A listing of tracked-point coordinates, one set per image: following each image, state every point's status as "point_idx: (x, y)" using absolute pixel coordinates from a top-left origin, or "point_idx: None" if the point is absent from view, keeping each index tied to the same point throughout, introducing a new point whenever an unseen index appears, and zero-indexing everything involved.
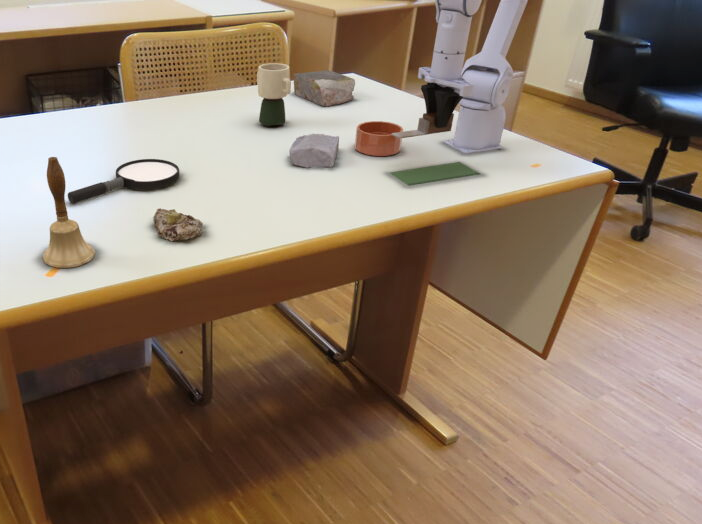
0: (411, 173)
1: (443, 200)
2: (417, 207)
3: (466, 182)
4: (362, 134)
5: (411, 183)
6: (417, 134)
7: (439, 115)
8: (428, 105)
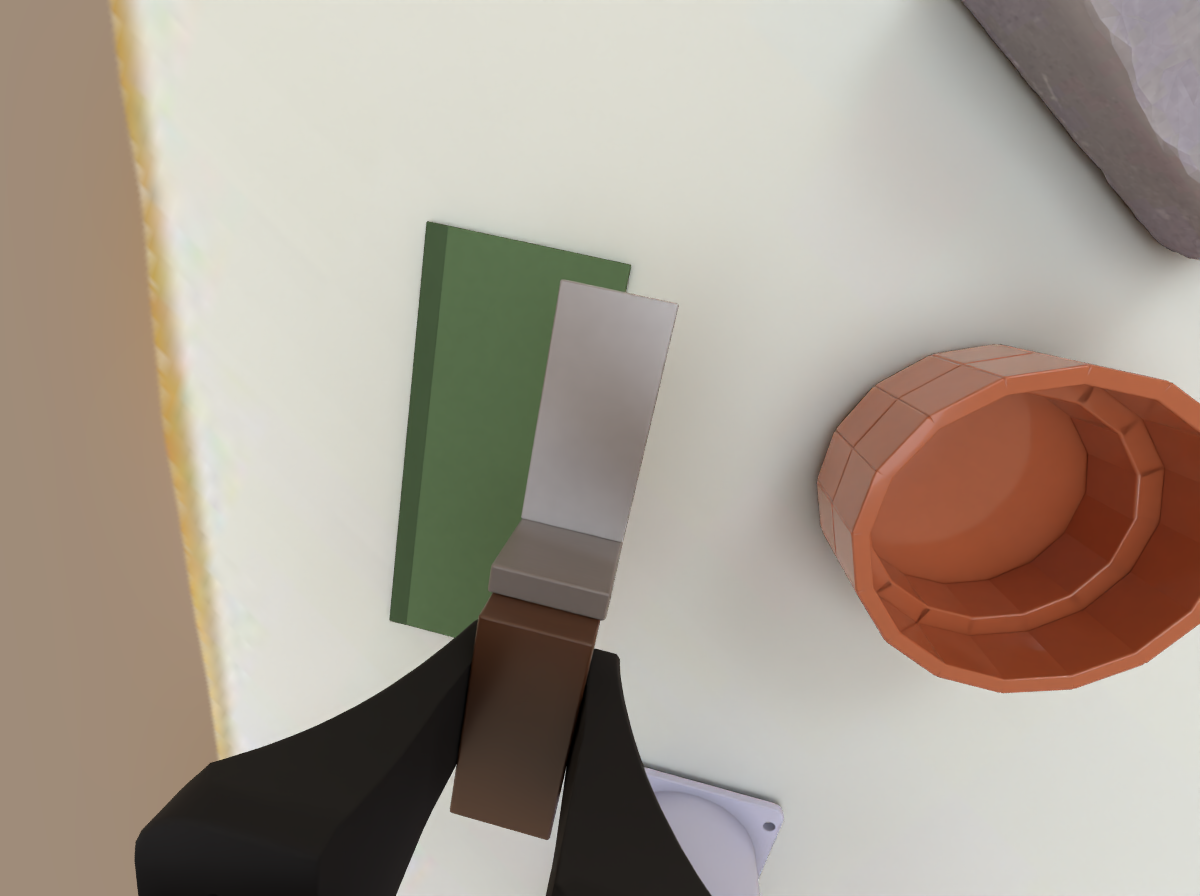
0: None
1: (227, 251)
2: (197, 54)
3: (358, 509)
4: (1072, 362)
5: (442, 255)
6: (532, 458)
7: (414, 669)
8: (582, 745)
